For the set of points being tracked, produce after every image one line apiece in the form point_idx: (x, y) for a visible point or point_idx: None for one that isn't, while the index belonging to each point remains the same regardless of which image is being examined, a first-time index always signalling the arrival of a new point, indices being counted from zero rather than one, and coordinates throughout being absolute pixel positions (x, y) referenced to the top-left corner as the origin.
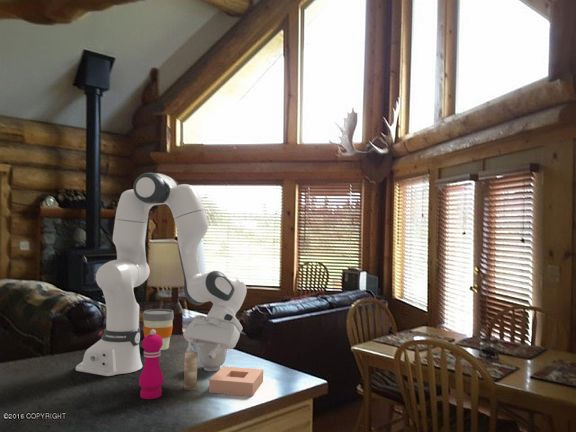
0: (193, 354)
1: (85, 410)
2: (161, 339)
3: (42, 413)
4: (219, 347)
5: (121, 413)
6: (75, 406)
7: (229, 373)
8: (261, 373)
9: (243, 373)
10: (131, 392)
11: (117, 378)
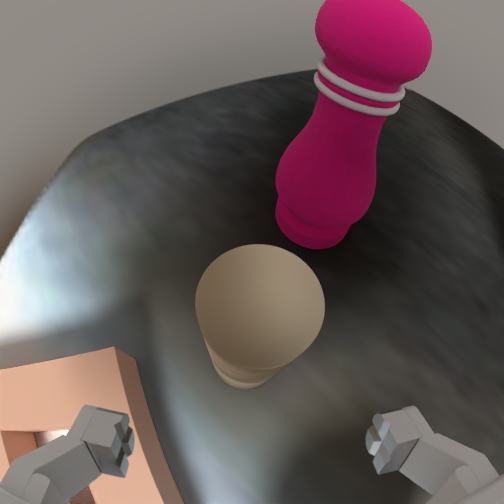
0: (218, 287)
1: None
2: (339, 10)
3: None
4: (16, 463)
5: (267, 117)
6: None
7: (94, 492)
8: None
9: None
10: (380, 211)
11: (496, 274)
